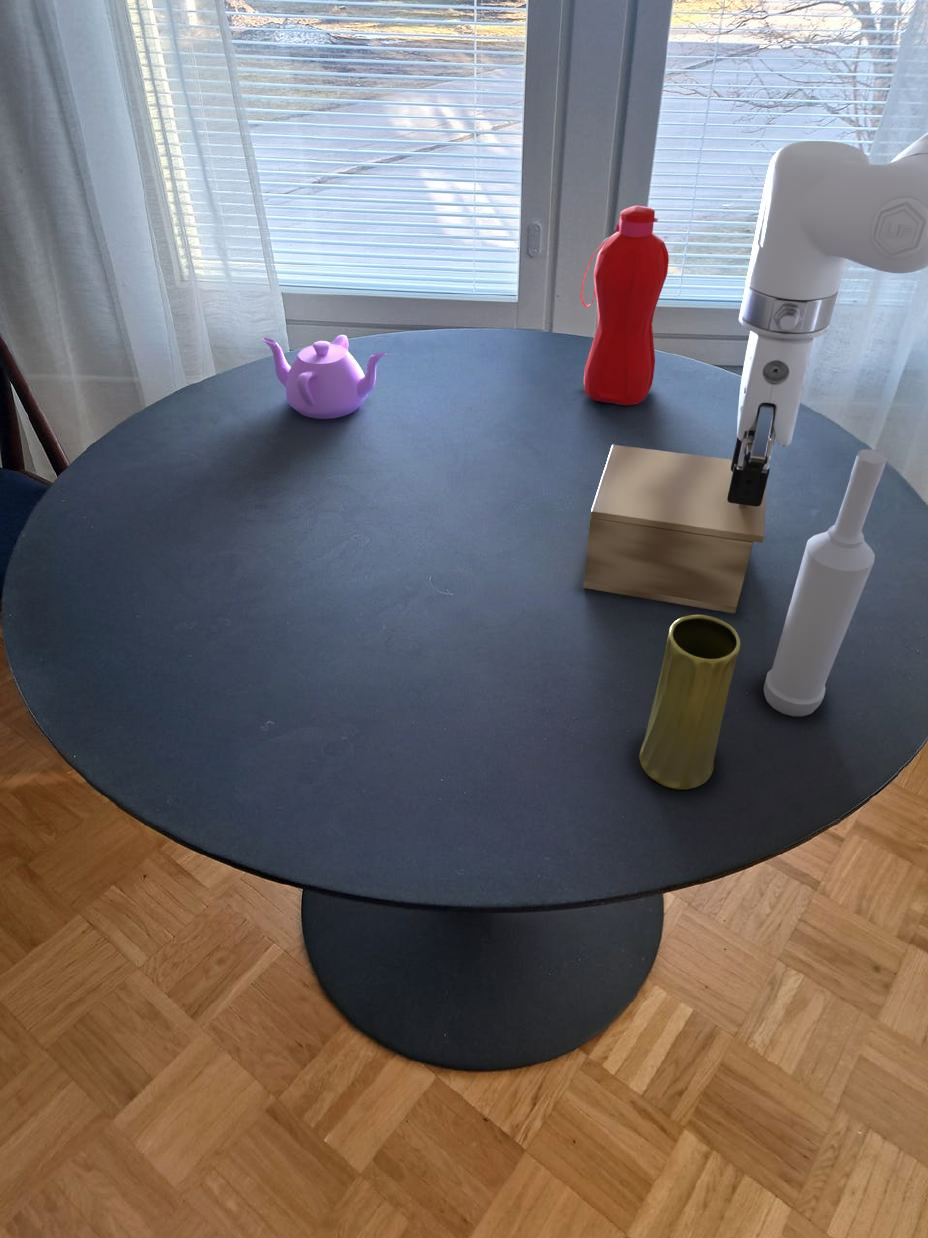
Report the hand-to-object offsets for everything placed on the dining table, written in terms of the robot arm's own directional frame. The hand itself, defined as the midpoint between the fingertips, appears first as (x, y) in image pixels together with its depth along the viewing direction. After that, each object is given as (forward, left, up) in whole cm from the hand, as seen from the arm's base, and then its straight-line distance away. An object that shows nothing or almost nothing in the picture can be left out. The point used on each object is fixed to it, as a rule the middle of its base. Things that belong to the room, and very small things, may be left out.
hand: (745, 485), depth 86 cm
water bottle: (+18, -39, -11) cm, 45 cm away
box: (+6, 0, -11) cm, 13 cm away
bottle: (-7, +17, -11) cm, 22 cm away
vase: (+2, +28, -11) cm, 30 cm away
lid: (+6, 0, -2) cm, 6 cm away
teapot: (+56, -25, -11) cm, 63 cm away
